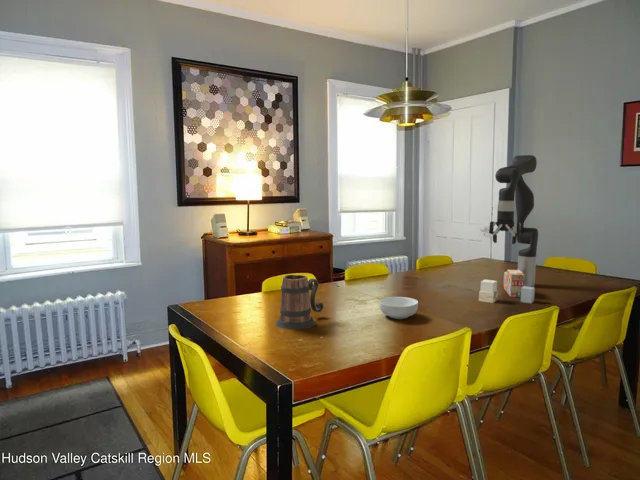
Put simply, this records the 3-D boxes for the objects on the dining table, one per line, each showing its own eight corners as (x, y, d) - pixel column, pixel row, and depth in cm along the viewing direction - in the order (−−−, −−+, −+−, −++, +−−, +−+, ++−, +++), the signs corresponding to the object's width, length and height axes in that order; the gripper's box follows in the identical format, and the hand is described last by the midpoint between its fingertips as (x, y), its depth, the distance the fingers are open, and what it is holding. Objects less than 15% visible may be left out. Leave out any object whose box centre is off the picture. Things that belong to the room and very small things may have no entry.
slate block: (523, 299, 229) (524, 286, 228) (533, 301, 225) (534, 287, 225) (520, 301, 225) (521, 288, 224) (531, 303, 222) (532, 289, 221)
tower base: (483, 298, 232) (483, 288, 231) (497, 300, 228) (497, 290, 227) (478, 301, 227) (479, 291, 226) (492, 303, 222) (493, 293, 222)
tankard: (292, 332, 179) (292, 283, 177) (267, 322, 192) (266, 276, 189) (335, 320, 195) (335, 274, 193) (309, 312, 208) (309, 269, 205)
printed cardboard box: (502, 287, 255) (503, 266, 253) (514, 288, 253) (515, 266, 252) (510, 297, 234) (511, 273, 232) (523, 297, 233) (524, 274, 231)
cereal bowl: (391, 309, 212) (392, 294, 211) (424, 315, 202) (424, 300, 201) (372, 317, 199) (372, 301, 198) (405, 325, 189) (406, 308, 188)
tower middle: (484, 289, 231) (484, 279, 230) (496, 290, 227) (497, 280, 226) (480, 291, 226) (480, 281, 225) (492, 293, 222) (493, 283, 222)
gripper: (523, 210, 217) (521, 243, 219) (493, 209, 226) (491, 241, 228) (519, 211, 211) (517, 245, 213) (488, 209, 220) (486, 243, 222)
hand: (504, 243), depth 220 cm, fingers open, 8 cm apart
